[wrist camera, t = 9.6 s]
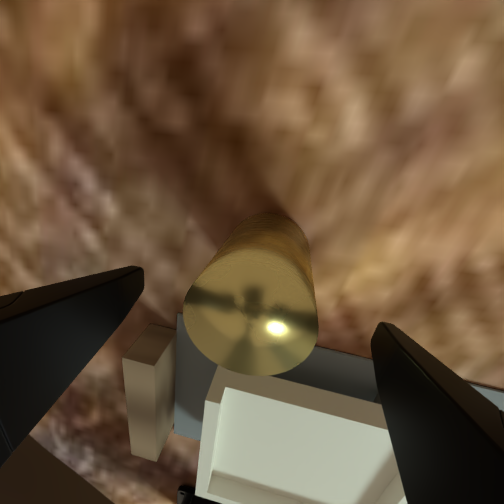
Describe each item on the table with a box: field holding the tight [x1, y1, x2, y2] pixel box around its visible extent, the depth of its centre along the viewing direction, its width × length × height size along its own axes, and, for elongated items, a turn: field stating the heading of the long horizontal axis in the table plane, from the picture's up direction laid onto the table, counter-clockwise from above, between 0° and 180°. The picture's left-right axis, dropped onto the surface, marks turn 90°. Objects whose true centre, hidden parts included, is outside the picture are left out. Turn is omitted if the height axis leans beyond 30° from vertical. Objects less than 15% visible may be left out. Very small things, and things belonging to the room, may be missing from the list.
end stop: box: [122, 324, 177, 462], centre depth 17 cm, size 10×2×3 cm, turn 171°
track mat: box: [174, 313, 504, 441], centre depth 17 cm, size 13×29×1 cm, turn 81°
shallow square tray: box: [195, 365, 407, 504], centre depth 16 cm, size 10×12×4 cm
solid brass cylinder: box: [183, 213, 319, 376], centre depth 11 cm, size 4×4×6 cm
